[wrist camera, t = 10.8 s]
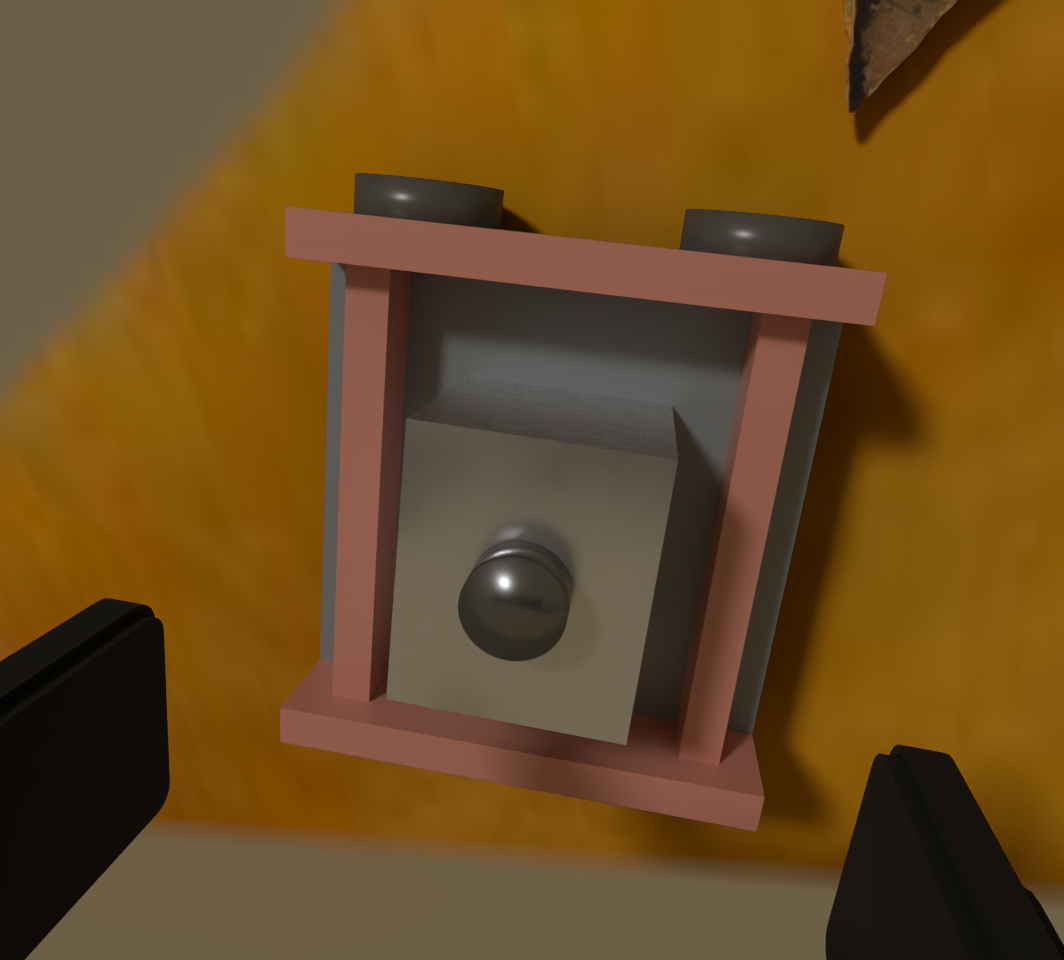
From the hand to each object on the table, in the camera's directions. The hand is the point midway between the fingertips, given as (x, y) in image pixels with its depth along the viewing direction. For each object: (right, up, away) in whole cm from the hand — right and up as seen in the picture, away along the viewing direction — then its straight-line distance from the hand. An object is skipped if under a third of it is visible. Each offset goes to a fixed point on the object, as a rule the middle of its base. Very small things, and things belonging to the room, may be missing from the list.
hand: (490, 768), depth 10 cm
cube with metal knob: (+1, +3, +10) cm, 10 cm away
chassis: (+2, +4, +13) cm, 13 cm away
